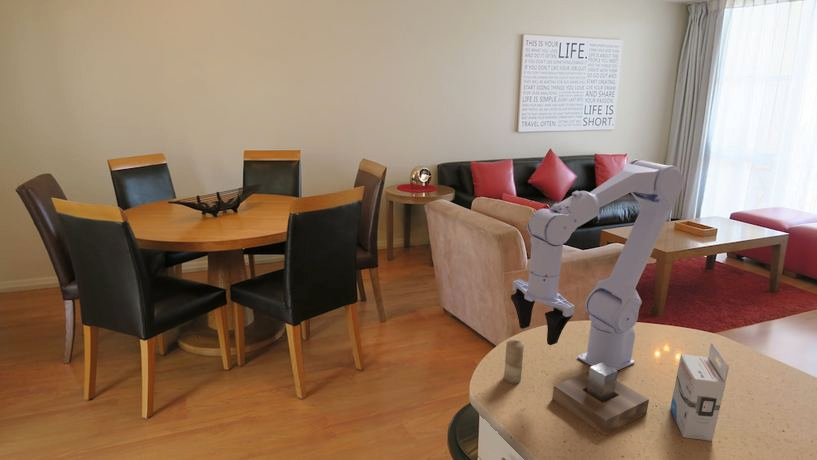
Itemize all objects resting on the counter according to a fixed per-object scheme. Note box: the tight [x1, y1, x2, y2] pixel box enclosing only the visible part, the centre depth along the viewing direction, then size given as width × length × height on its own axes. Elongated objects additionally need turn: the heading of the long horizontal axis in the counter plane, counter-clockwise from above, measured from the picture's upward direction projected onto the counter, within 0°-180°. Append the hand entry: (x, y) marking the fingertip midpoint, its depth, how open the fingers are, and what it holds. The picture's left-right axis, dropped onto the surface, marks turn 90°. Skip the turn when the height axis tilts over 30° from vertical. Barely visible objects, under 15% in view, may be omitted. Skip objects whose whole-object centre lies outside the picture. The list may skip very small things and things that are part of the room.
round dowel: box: [503, 339, 525, 385], centre depth 105 cm, size 3×3×8 cm
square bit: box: [587, 362, 618, 403], centre depth 97 cm, size 3×3×8 cm
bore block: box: [551, 370, 650, 436], centre depth 97 cm, size 12×12×3 cm
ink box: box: [670, 342, 730, 442], centre depth 91 cm, size 9×5×15 cm, turn 168°
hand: (537, 335), depth 104 cm, fingers open, 7 cm apart
